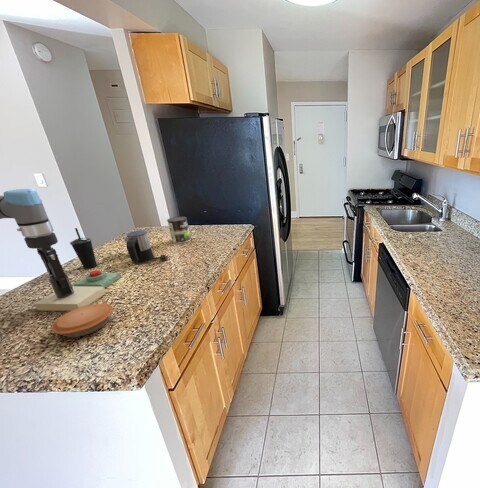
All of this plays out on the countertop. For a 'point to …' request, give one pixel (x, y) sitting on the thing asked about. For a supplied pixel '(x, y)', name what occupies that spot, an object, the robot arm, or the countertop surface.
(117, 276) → the red push button panel
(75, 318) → the pie
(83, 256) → the drinking cup
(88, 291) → the hob console
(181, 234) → the coffee can
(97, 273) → the button
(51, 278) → the hob knob
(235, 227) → the countertop surface
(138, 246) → the milk frother
